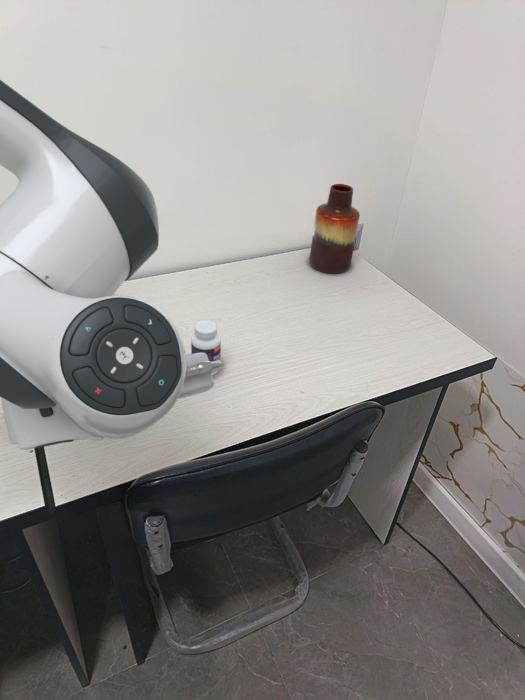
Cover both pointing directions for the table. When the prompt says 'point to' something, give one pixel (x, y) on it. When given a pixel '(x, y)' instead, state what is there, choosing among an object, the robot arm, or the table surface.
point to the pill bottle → (206, 340)
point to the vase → (334, 231)
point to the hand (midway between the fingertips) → (113, 402)
